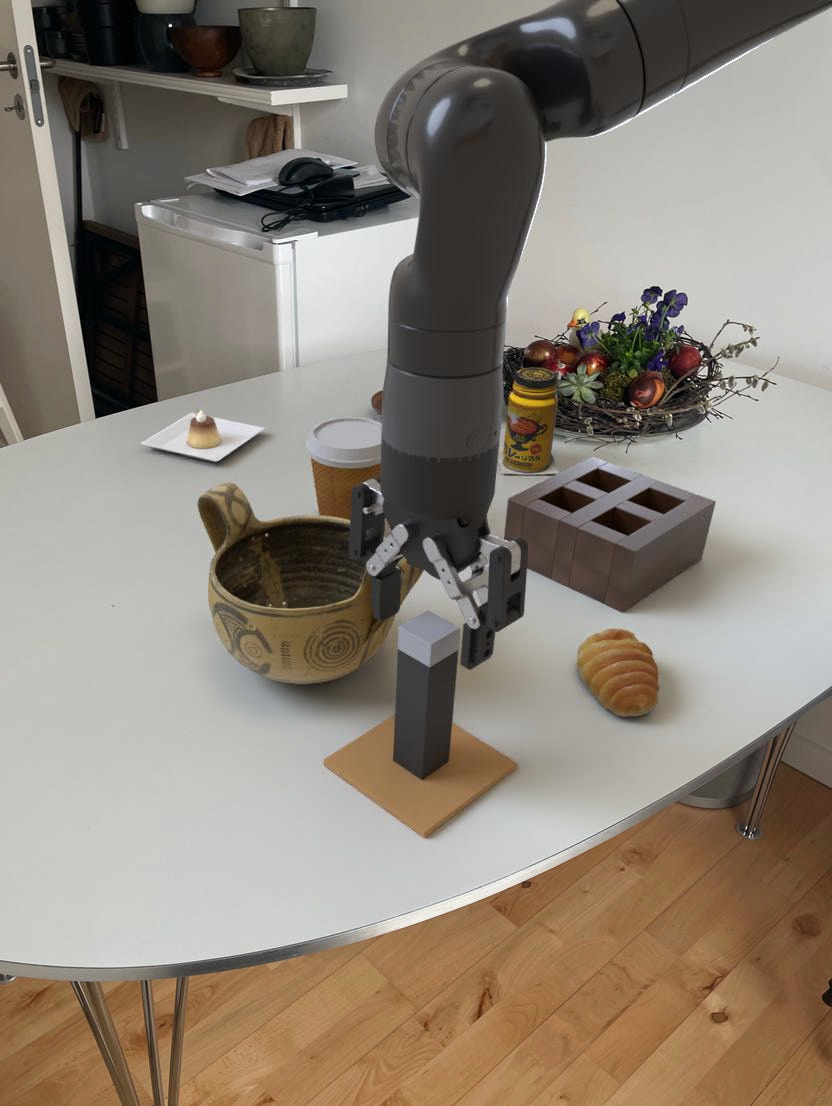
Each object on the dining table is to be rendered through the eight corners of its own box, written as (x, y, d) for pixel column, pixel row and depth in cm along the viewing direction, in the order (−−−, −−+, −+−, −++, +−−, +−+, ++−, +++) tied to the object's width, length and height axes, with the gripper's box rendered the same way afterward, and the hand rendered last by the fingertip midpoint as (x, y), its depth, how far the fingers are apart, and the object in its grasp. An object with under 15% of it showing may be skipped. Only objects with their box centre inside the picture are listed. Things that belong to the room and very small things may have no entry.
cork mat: (516, 768, 78) (517, 762, 77) (424, 838, 71) (424, 832, 71) (416, 705, 84) (416, 700, 84) (323, 765, 78) (323, 759, 77)
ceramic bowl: (457, 659, 90) (470, 514, 81) (350, 758, 78) (352, 603, 70) (271, 583, 100) (265, 449, 92) (153, 662, 89) (133, 516, 80)
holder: (701, 559, 105) (716, 501, 101) (622, 612, 96) (635, 551, 92) (583, 511, 114) (592, 456, 110) (501, 556, 105) (507, 498, 101)
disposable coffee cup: (357, 505, 115) (359, 408, 108) (408, 536, 109) (413, 436, 102) (290, 527, 110) (287, 428, 104) (339, 561, 104) (339, 458, 97)
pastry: (674, 721, 83) (683, 685, 80) (596, 725, 82) (603, 689, 80) (639, 656, 90) (646, 622, 88) (568, 660, 90) (573, 626, 88)
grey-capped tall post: (449, 761, 77) (461, 627, 70) (422, 780, 76) (431, 644, 68) (419, 742, 79) (428, 609, 72) (392, 760, 77) (398, 626, 70)
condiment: (502, 475, 122) (512, 383, 115) (494, 447, 129) (502, 359, 122) (559, 475, 122) (573, 383, 115) (548, 448, 129) (560, 359, 122)
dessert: (191, 419, 136) (188, 386, 133) (265, 435, 132) (264, 401, 129) (140, 451, 127) (136, 416, 124) (218, 469, 123) (215, 433, 120)
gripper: (568, 445, 59) (538, 659, 69) (399, 385, 68) (393, 583, 77) (490, 482, 55) (470, 705, 64) (320, 413, 63) (324, 619, 73)
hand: (428, 638), depth 71 cm, fingers open, 8 cm apart
